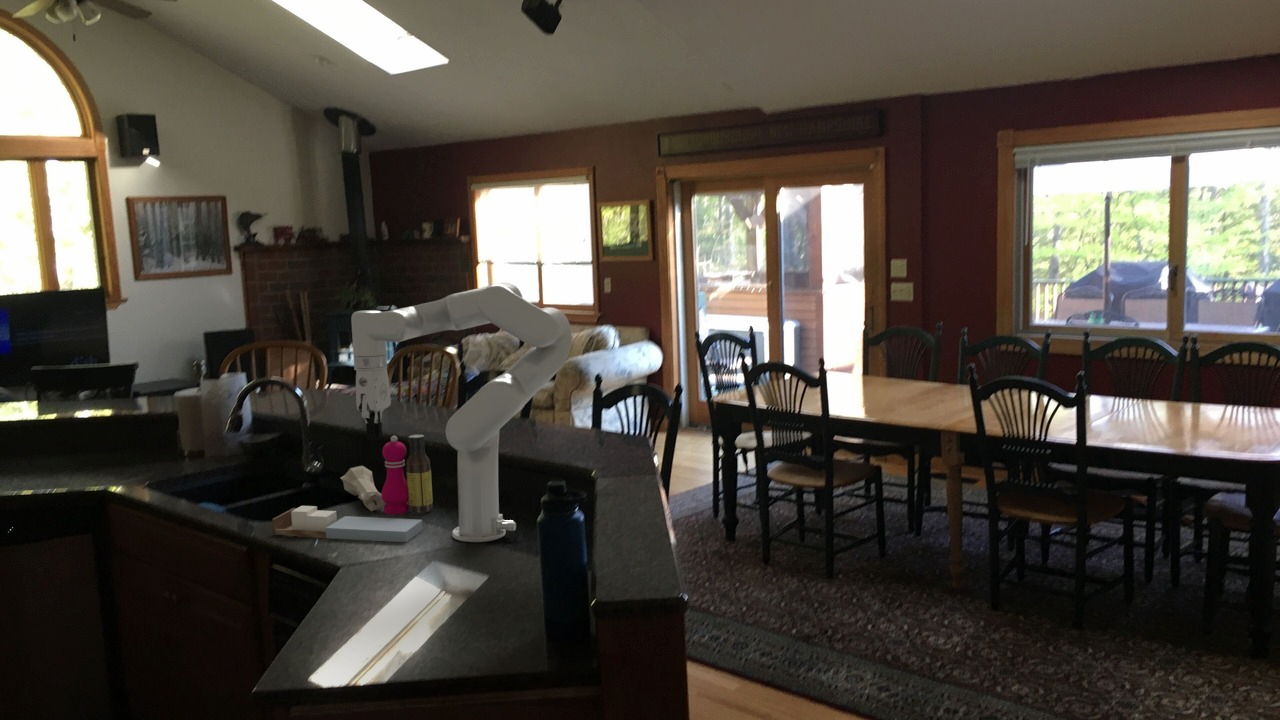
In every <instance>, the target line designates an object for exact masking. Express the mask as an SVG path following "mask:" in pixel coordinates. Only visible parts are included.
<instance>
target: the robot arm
mask: <svg viewBox="0 0 1280 720" xmlns="http://www.w3.org/2000/svg"><path fill="white" fill-rule="evenodd" d="M488 324H493V325H494V326H497V327H498V328H500V329H501V330H502V331H504V332H507V333H508V334H510V335H511V336H513V337H515V338H516V339H518V340H520V341H522V342H523V343H525V344H527V345H529V346H530V348H529V349H528V350H527V351H526V352H525V353H524V354H522V355H521V356H520V358H518V360H517V361H515V363H514V364H512V366H511V365H510V367H509V368H508V369H507V370H506V371H504V372H503V373H502V374H500V375H498V376H497V377H495V378H493V379H491V380H490V381H488V382H487V383H486V384H485V385H483V386H482V387H481V388H480V389H478V391H477V392H476V393H474V395H472V396H471V398H470V399H469V400H467V401H466V402H465V403H464V404H463V405H462V406H461V407H460V408H459V409H458V410H457V411H456V412H454V413H453V414H452V415H451V417H450V418H449V420H448V421H447V423H446V427H445V437H446V440H447V443H448V444H449V445H450V446H451V447H452V448H453V450H454V449H455V450H456V451H457V462H456V464H457V499H458V500H457V503H458V504H457V505H458V507H457V508H458V526H456V527H454V529H453V530H452V535H451V536H452V538H453V539H455V540H456V541H457V540H458V541H459V542H467V543H485V542H486V543H487V542H491V541H495V540H499V539H501V538H503V537H504V536H506V533H507V531H514V532H515V531H516V528H517V522H515V520H511V519H510V520H508V519H506V520H505V519H504V518H503V517H504V516H503V515H504V514H503V513H500V507H499V506H500V503H499V499H500V498H499V445H500V444H499V443H500V429H502V428H503V426H505V425H506V423H508V422H510V420H511V419H512V418H513V417H514V416H515V415H517V414H518V413H519V412H520V411H522V410H523V408H525V405H526V404H527V403H528V402H529V401H530V400H531V399H532V398H533V397H534V396H535V395H536V394H537V393H538V392H539V391H540V390H541V389H543V387H544V386H545V385H546V384H547V383H548V382H549V381H550V380H551V379H552V378H553V377H554V376H555V375H556V374H557V373H558V372H559V370H561V368H562V367H563V366H564V365H565V363H566V361H567V359H568V356H569V354H570V352H571V348H572V342H573V341H572V340H573V334H572V333H573V332H572V328H571V324H570V321H569V319H568V317H567V316H566V315H565V313H564V312H562V311H561V310H560V309H558V308H556V307H550V306H549V307H548V306H547V307H543V308H541V307H538V306H537V305H535V304H534V303H531V302H530V301H528V300H526V299H524V298H523V294H522V293H521V291H520V289H519V288H518V287H517V286H516V285H514V284H512V283H510V282H500V283H495V284H491V285H487V286H482V287H478V288H474V289H468V290H465V291H461V292H460V291H459V292H456V293H452V294H450V295H446V296H444V297H443V298H441V299H437V300H434V301H430V302H429V301H428V302H425V303H420V304H417V305H412V306H406V307H401V308H396V309H392V310H388V311H387V310H386V311H381V310H378V309H377V310H375V309H372V310H371V309H369V310H368V309H367V310H358V311H354V312H353V313H352V315H351V333H352V334H351V335H352V352H353V354H352V355H353V369H354V371H356V374H355V401H356V402H355V403H356V409H357V411H358V412H359V413H361V418H362V419H364V421H365V424H366V425H365V426H366V439H367V440H368V441H369V440H371V441H373V440H374V441H377V440H378V441H379V440H381V439H383V425H382V424H383V423H382V421H383V412H384V411H385V409H387V408H389V407H390V406H391V404H392V399H391V388H390V379H389V375H388V359H387V358H388V357H387V356H388V355H387V343H386V342H390V343H402V342H403V341H407V340H411V339H414V338H418V337H422V336H426V335H430V334H435V333H439V332H445V331H461V330H465V329H466V330H467V329H471V328H475V327H479V326H483V325H488Z"/></svg>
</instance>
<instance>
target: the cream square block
mask: <svg viewBox="0 0 1280 720" xmlns="http://www.w3.org/2000/svg"><path fill="white" fill-rule="evenodd" d="M295 508H296V507H295ZM317 510H318V506H315V505H300V506H299V507H297V508H296V509H295V510H293V511H291V515H292V530H308V524H307V516H308V515H310V514H312V513H313V512H315V511H317Z"/></svg>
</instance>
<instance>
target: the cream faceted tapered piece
mask: <svg viewBox="0 0 1280 720" xmlns="http://www.w3.org/2000/svg"><path fill="white" fill-rule="evenodd" d="M373 477H374V476H373V471H372V470H370V469H368V468H367V467H365V466H364V465H359V466H354V467H350V468H349V469H348V470H347V472H346V473H345V474H344V475H343V476H341V477H340V479H341V482H343V488H344V491H346V492H348V493H349V494H351V495H353V496H356V497H357V498H358V499H360V500H361V501H362V503H363V504H364V506H365V508H366V509H368V510H369V511H370V512H374V511H376V510H378V509H380V508H381V507H382V506H384V505H385V502H384V501H383V500H382V492H379V491H378V490H377V488H376V486H375V482H374V478H373Z"/></svg>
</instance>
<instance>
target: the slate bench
mask: <svg viewBox="0 0 1280 720" xmlns="http://www.w3.org/2000/svg"><path fill="white" fill-rule="evenodd" d="M337 520H338V521H336V522H335V523H333V524H331V525H330V526H328V527H327V528H326V538H325V539H335V540H337V539H339V540H357V541H373V542H374V541H379V542H396V543H408V542H409V541H410V540H411V539H412V538H414V537H416V535H418V534H419V533H421V532H422V531H423V530H424V529H423V519H413V518H411V519H410V518H391V517H373V516H371V517H369V516H348V515H347V516H346V515H345V516H343V517H342V518H340V519H337Z"/></svg>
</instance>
